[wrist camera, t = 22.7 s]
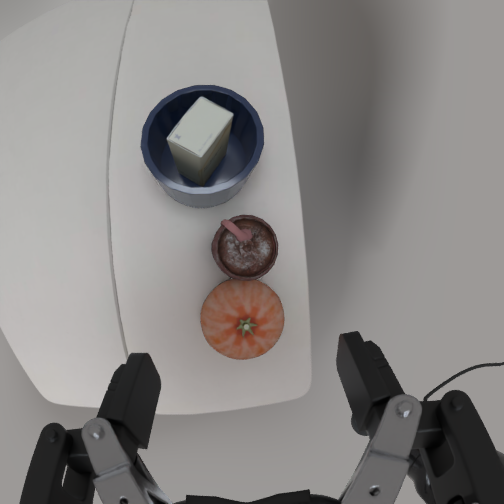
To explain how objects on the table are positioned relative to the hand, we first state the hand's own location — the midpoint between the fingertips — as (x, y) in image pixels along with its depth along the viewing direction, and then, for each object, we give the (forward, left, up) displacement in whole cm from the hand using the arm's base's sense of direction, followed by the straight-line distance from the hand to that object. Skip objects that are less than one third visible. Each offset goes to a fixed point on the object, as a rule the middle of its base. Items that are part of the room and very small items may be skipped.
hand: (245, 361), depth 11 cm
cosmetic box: (-3, -17, -27) cm, 32 cm away
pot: (-3, -17, -28) cm, 33 cm away
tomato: (-1, +5, -28) cm, 28 cm away
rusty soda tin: (-3, -4, -28) cm, 28 cm away
